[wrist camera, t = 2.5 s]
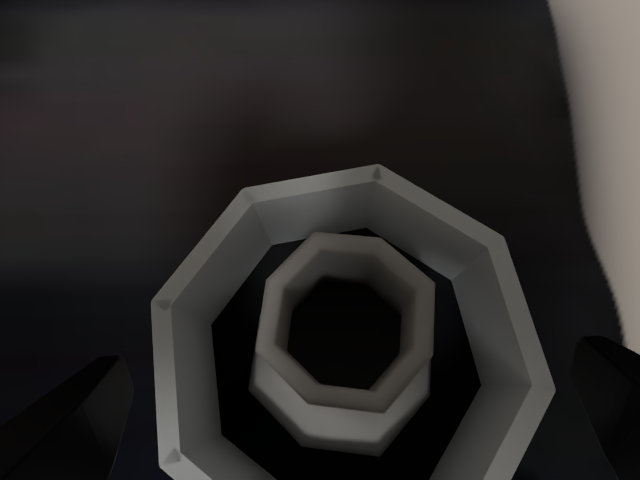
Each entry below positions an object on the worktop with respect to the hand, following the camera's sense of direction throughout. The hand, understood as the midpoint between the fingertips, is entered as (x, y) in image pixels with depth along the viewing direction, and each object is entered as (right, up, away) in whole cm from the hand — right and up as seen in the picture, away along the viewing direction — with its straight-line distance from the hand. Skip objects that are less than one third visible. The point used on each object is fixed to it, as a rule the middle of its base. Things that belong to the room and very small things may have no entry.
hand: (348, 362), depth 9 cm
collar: (0, -2, +8) cm, 9 cm away
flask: (0, -2, +9) cm, 9 cm away
